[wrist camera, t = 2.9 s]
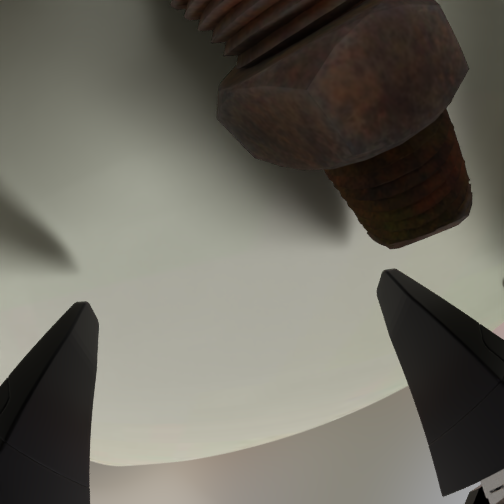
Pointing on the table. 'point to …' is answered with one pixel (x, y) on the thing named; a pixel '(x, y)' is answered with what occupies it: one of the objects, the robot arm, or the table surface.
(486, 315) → the table surface
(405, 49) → the bolt
